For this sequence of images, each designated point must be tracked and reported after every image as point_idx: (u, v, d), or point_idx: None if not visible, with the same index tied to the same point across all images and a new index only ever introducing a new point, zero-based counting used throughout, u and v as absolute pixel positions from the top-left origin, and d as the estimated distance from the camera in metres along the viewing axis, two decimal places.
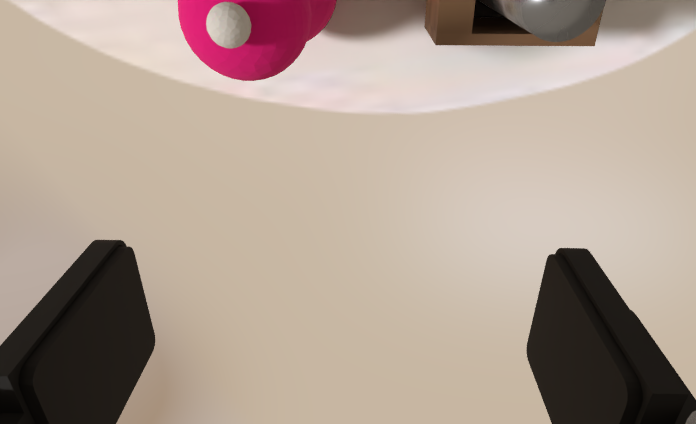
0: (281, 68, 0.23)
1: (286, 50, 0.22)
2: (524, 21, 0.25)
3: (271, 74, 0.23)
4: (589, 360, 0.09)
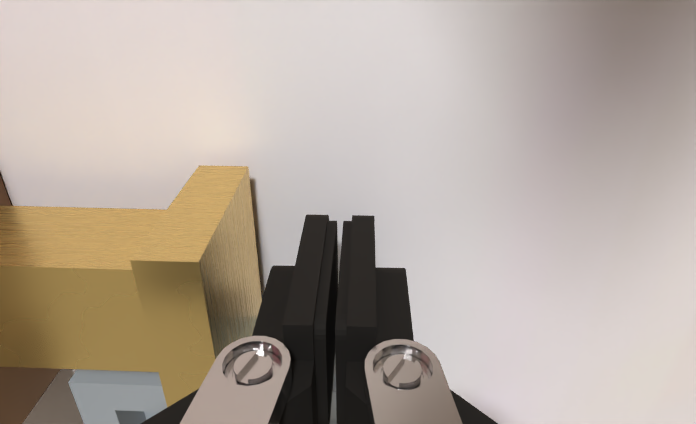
0: None
1: None
2: None
3: None
4: None
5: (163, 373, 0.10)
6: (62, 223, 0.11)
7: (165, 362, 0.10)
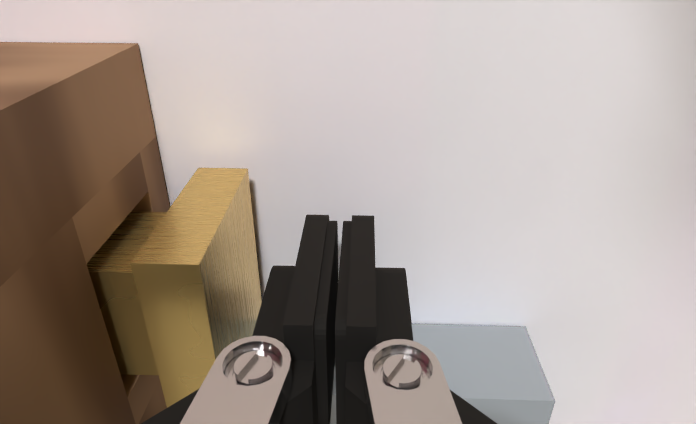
0: None
1: None
2: None
3: None
4: None
5: (163, 376, 0.10)
6: None
7: (165, 366, 0.10)
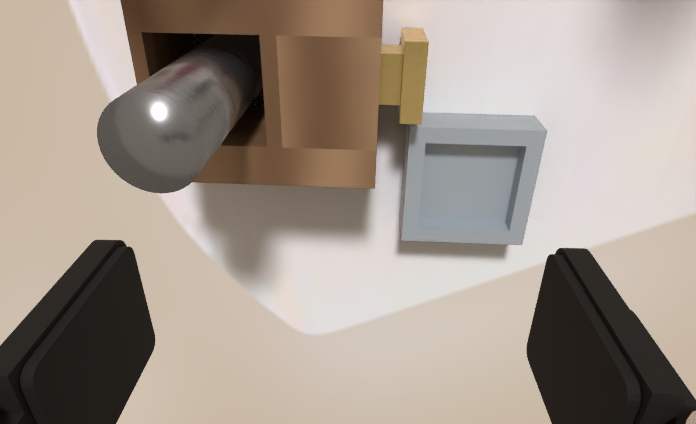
0: None
1: None
2: (114, 100, 0.18)
3: None
4: (589, 360, 0.09)
5: (403, 94, 0.27)
6: None
7: (405, 88, 0.27)
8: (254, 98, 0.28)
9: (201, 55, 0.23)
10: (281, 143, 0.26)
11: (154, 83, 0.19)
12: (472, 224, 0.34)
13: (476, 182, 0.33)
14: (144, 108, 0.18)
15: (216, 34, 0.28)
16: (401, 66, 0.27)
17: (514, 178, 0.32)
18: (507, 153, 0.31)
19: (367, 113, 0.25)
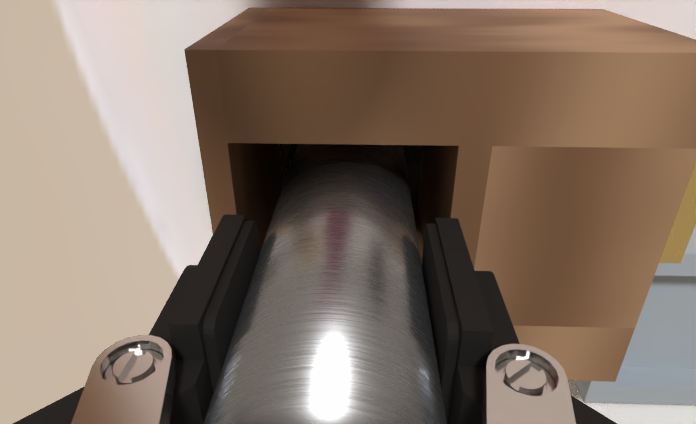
0: None
1: None
2: (239, 419, 0.07)
3: None
4: (436, 311, 0.10)
5: None
6: None
7: None
8: None
9: (350, 191, 0.12)
10: None
11: (324, 339, 0.08)
12: (690, 375, 0.22)
13: None
14: None
15: None
16: None
17: None
18: None
19: (635, 272, 0.14)
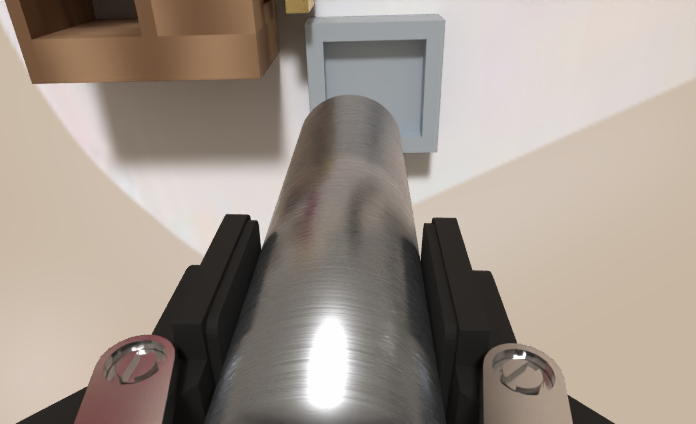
0: None
1: None
2: (242, 410, 0.07)
3: None
4: (434, 311, 0.10)
5: None
6: None
7: None
8: None
9: (350, 189, 0.12)
10: (156, 31, 0.25)
11: (325, 332, 0.08)
12: None
13: (384, 88, 0.31)
14: None
15: (326, 114, 0.17)
16: None
17: (422, 81, 0.31)
18: (412, 53, 0.30)
19: None
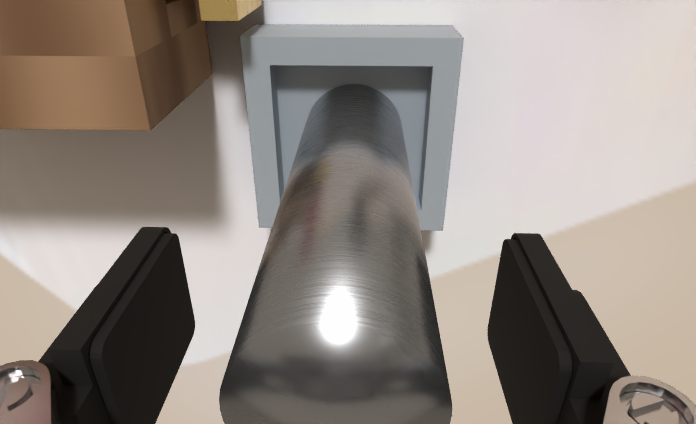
0: None
1: None
2: (267, 335, 0.08)
3: None
4: (532, 336, 0.09)
5: None
6: None
7: None
8: None
9: (356, 163, 0.13)
10: None
11: (337, 274, 0.09)
12: None
13: None
14: (334, 350, 0.08)
15: (331, 101, 0.18)
16: None
17: (424, 126, 0.21)
18: (409, 84, 0.20)
19: None
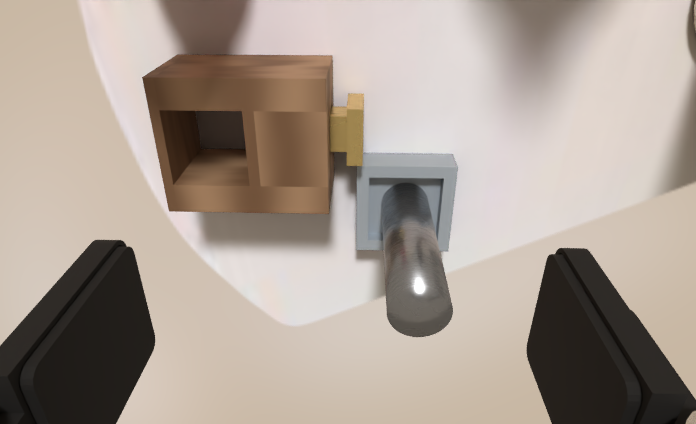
0: None
1: None
2: (403, 289, 0.30)
3: None
4: (589, 360, 0.09)
5: (348, 145, 0.37)
6: None
7: (349, 141, 0.37)
8: None
9: (417, 231, 0.35)
10: (259, 183, 0.36)
11: (420, 273, 0.31)
12: None
13: None
14: (421, 293, 0.30)
15: (397, 194, 0.40)
16: (346, 125, 0.37)
17: (439, 201, 0.43)
18: (432, 182, 0.42)
19: (320, 161, 0.35)
